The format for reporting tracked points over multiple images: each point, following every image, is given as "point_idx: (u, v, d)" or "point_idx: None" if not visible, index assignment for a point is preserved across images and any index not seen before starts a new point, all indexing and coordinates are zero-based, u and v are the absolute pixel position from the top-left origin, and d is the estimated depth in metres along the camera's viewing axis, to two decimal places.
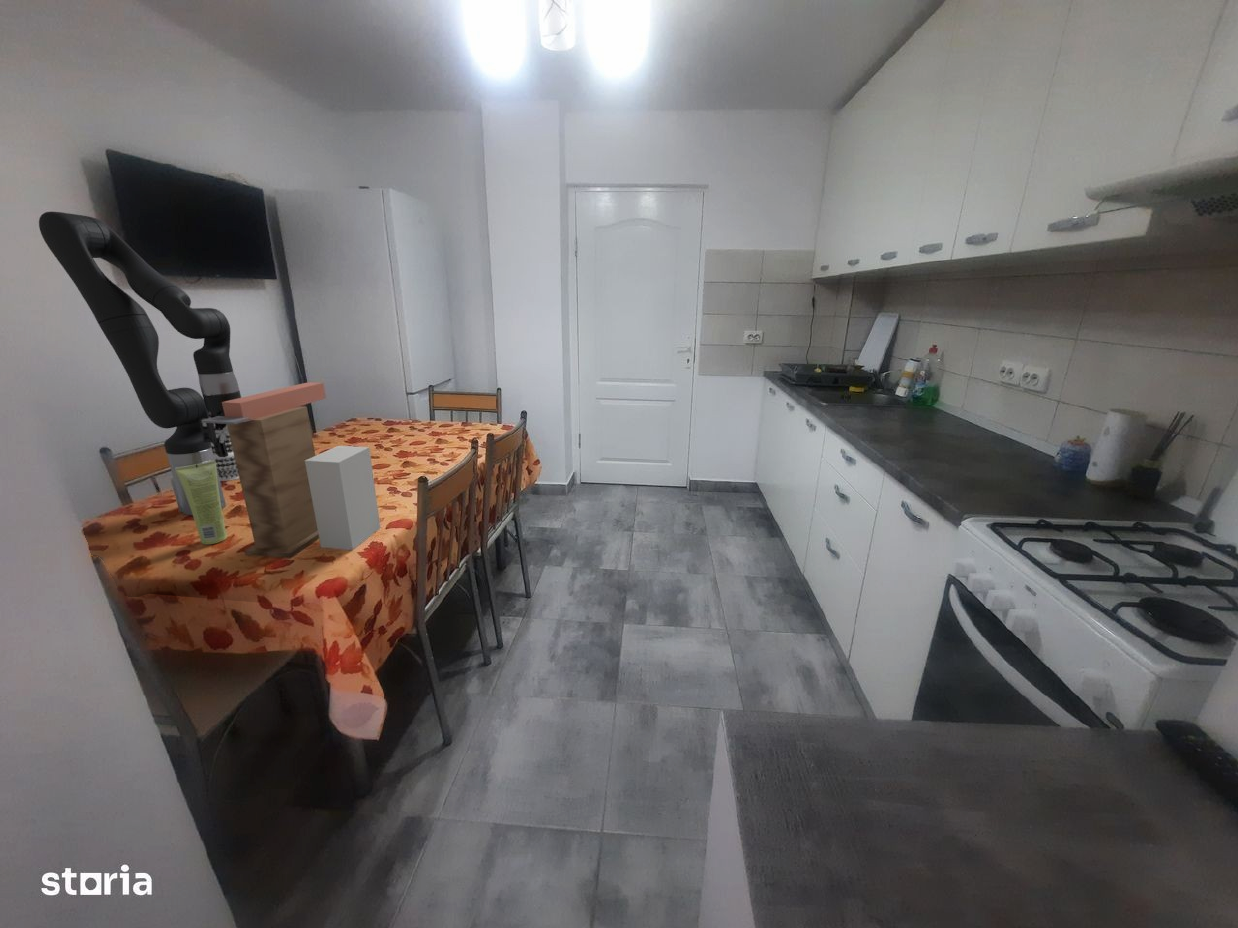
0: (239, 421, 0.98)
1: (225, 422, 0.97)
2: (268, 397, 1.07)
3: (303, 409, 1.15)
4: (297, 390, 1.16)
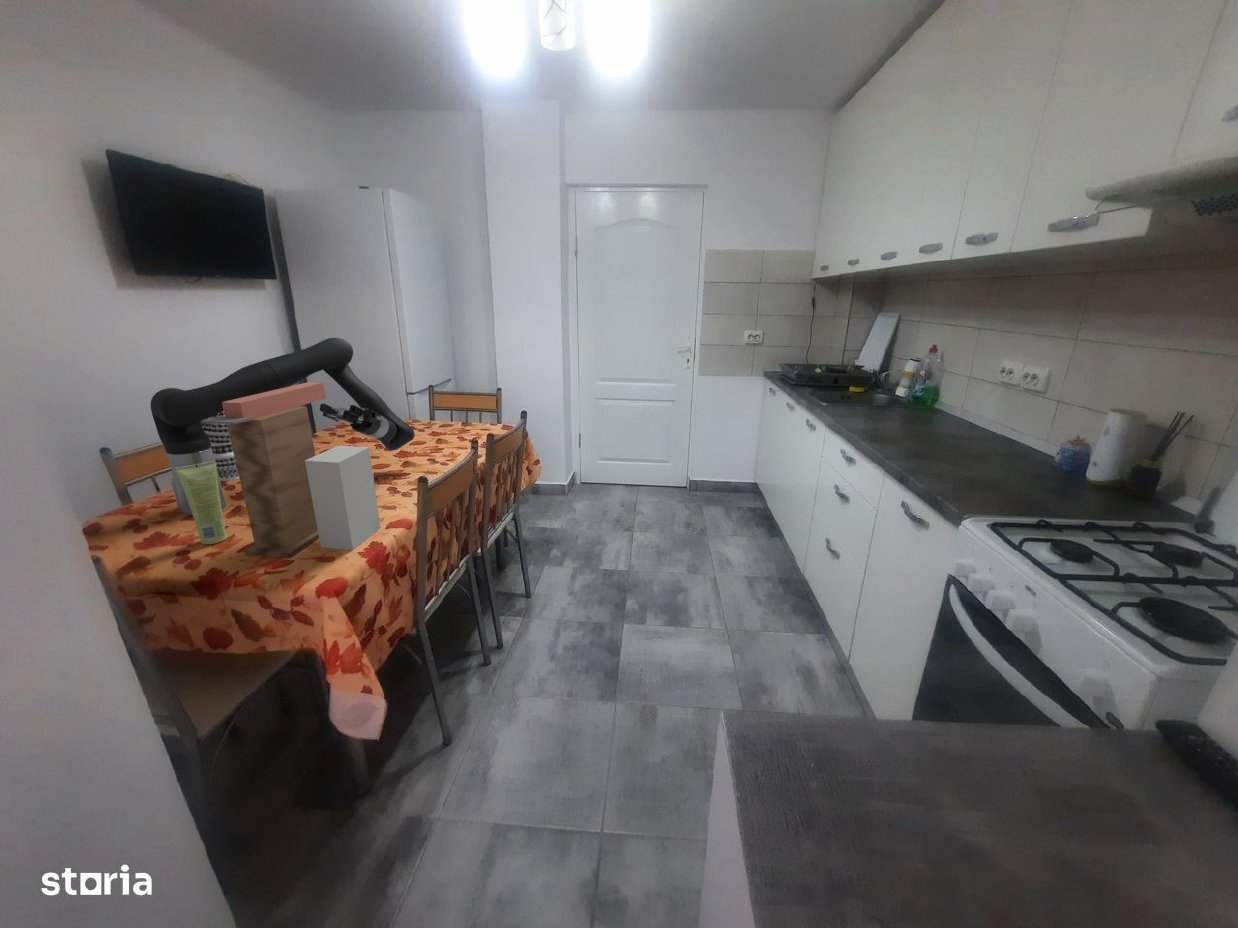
0: (239, 421, 0.98)
1: (225, 422, 0.97)
2: (268, 397, 1.07)
3: (303, 409, 1.15)
4: (297, 390, 1.16)
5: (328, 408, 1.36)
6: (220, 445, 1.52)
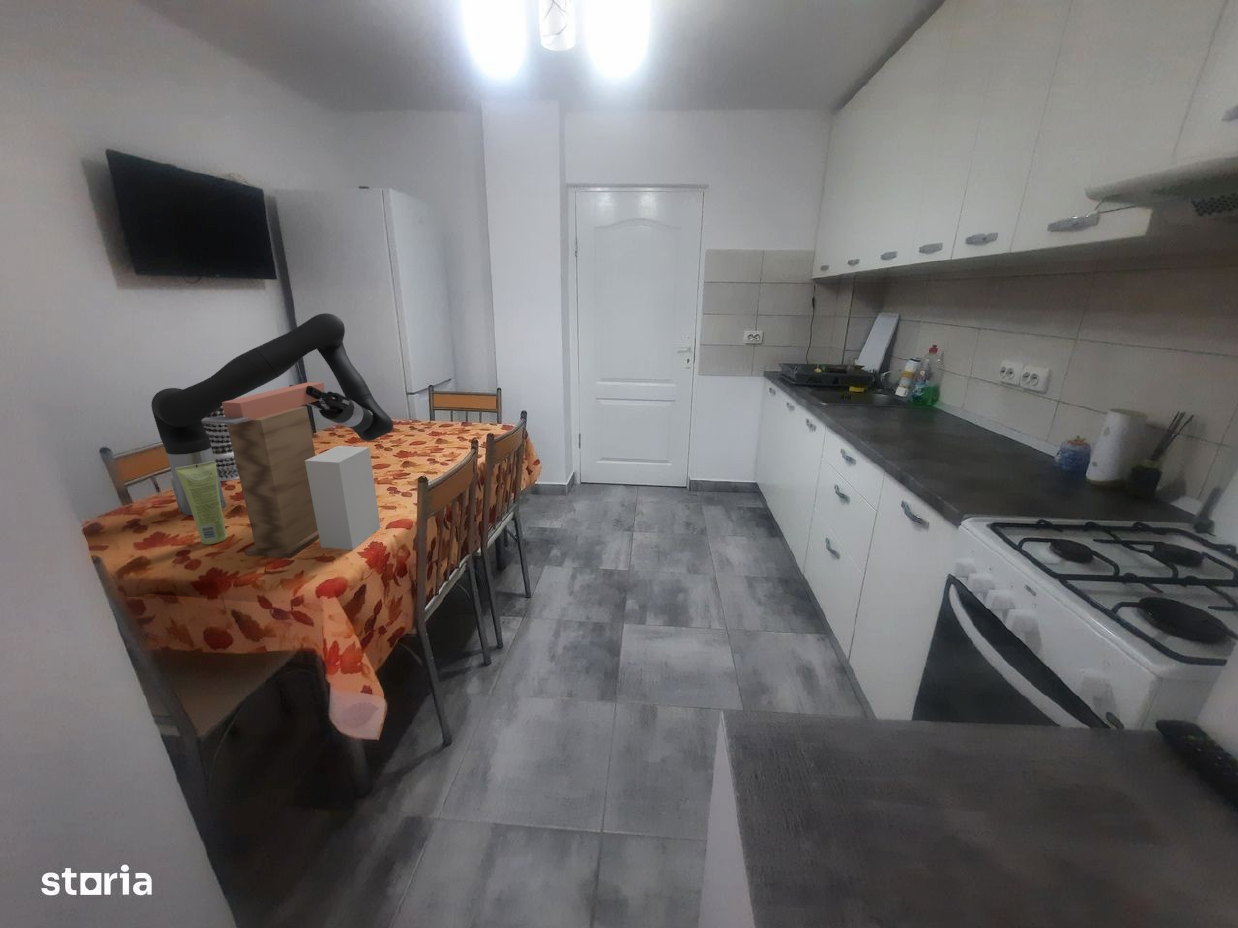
0: (239, 421, 0.98)
1: (225, 422, 0.97)
2: (268, 397, 1.07)
3: (303, 409, 1.15)
4: (297, 390, 1.16)
5: None
6: (220, 445, 1.52)
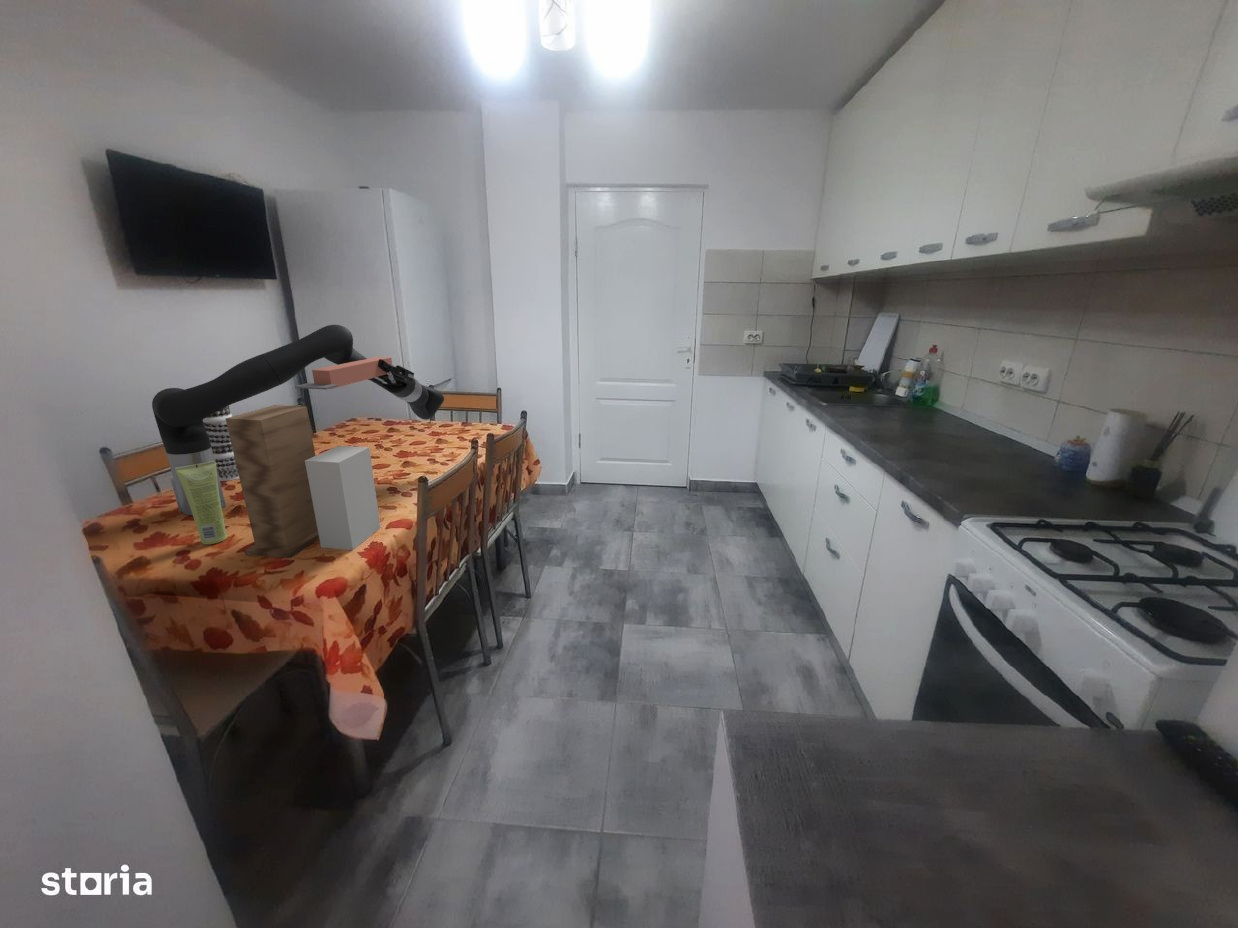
0: (330, 387, 1.06)
1: (317, 387, 1.04)
2: (350, 367, 1.14)
3: (303, 409, 1.15)
4: (371, 362, 1.23)
5: None
6: (220, 445, 1.52)
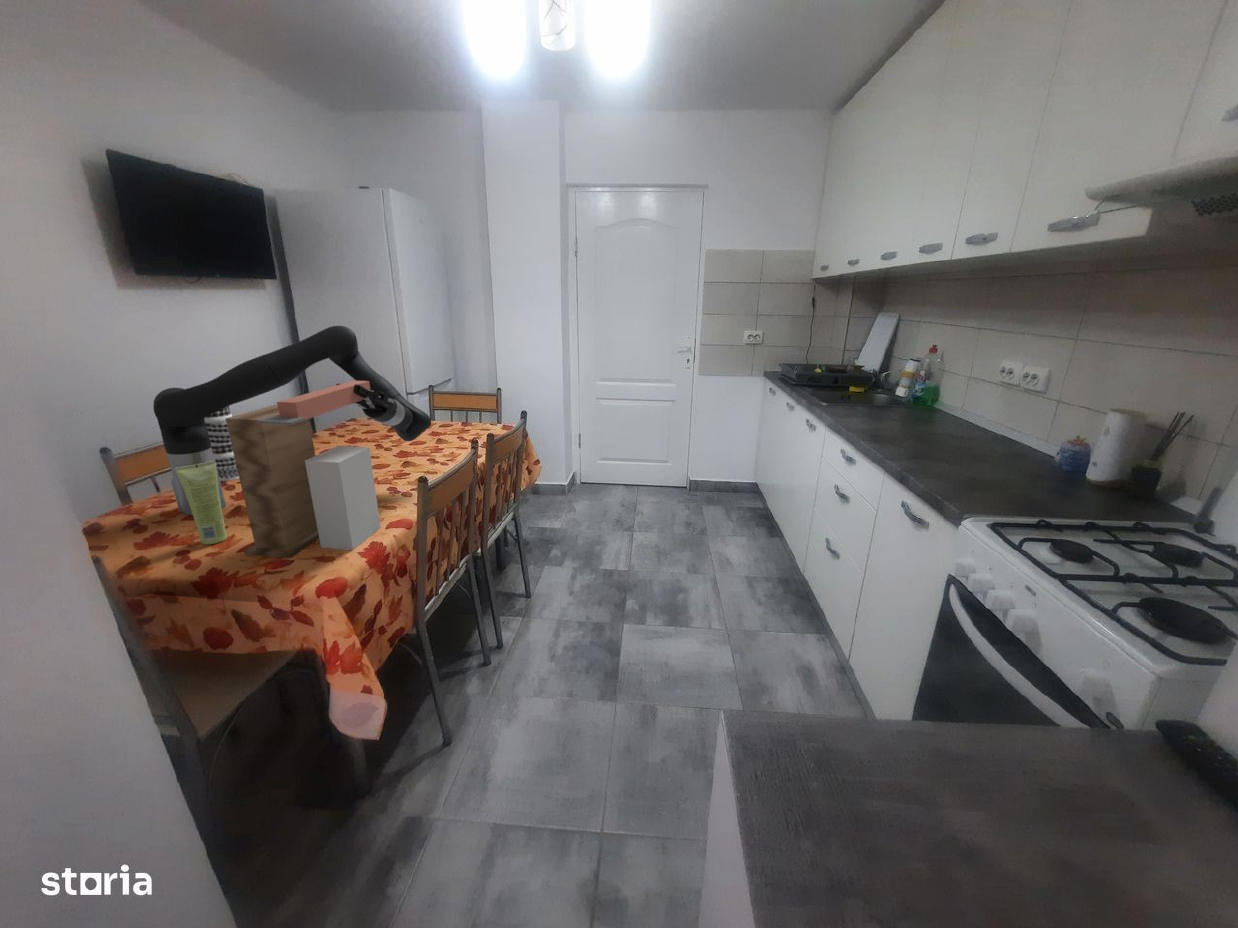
0: (296, 421, 0.96)
1: (282, 422, 0.95)
2: (320, 396, 1.05)
3: None
4: (346, 389, 1.13)
5: None
6: (220, 445, 1.52)
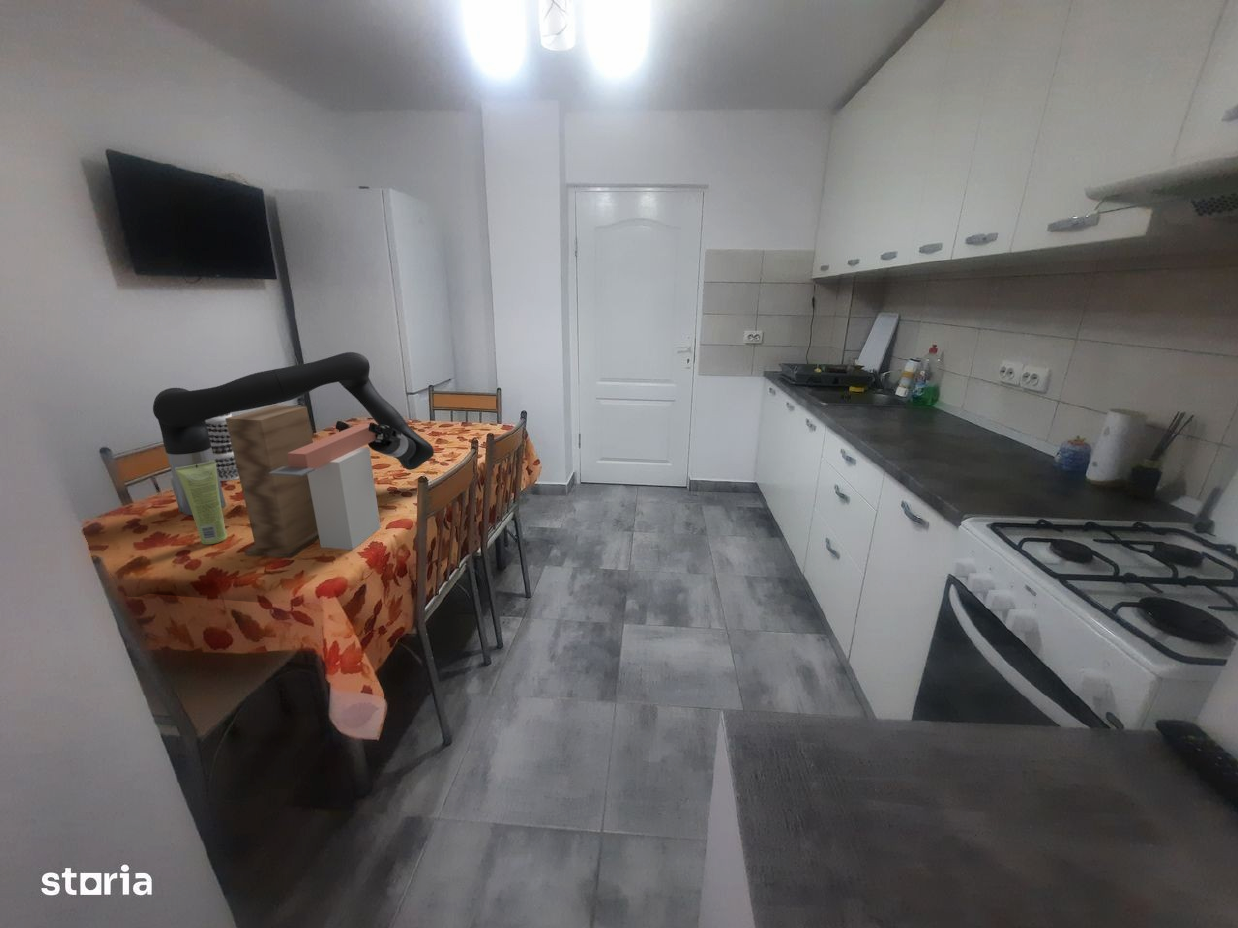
0: (305, 473, 1.00)
1: (292, 474, 0.99)
2: (329, 445, 1.09)
3: (303, 409, 1.15)
4: (353, 434, 1.17)
5: (345, 426, 1.23)
6: (220, 445, 1.52)
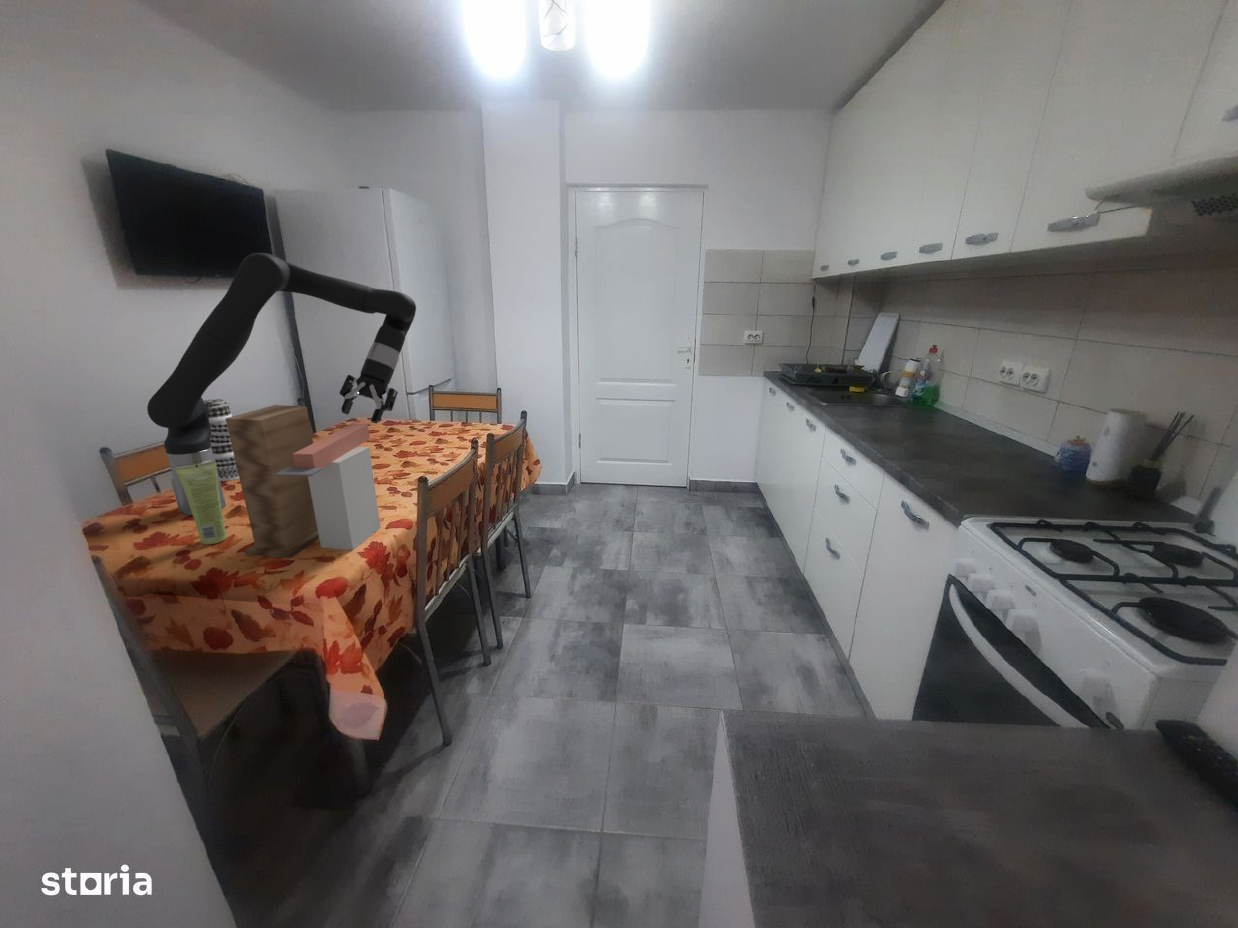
0: (315, 472, 1.00)
1: (302, 474, 0.99)
2: (331, 445, 1.09)
3: (303, 409, 1.15)
4: (350, 434, 1.17)
5: (348, 405, 1.32)
6: (220, 445, 1.52)
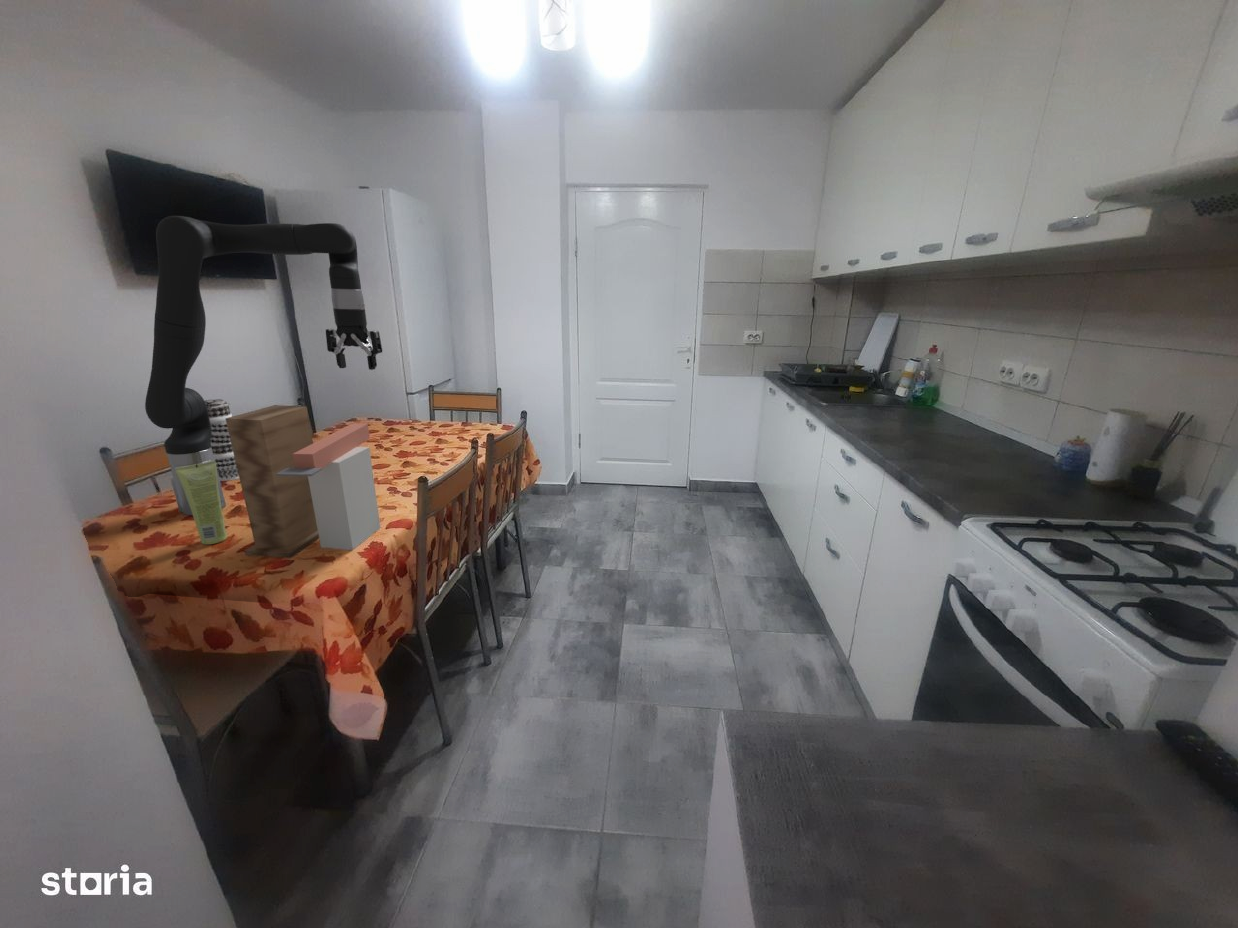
0: (315, 472, 1.00)
1: (302, 474, 0.99)
2: (331, 445, 1.09)
3: (303, 409, 1.15)
4: (350, 434, 1.17)
5: (342, 359, 1.34)
6: (220, 445, 1.52)
